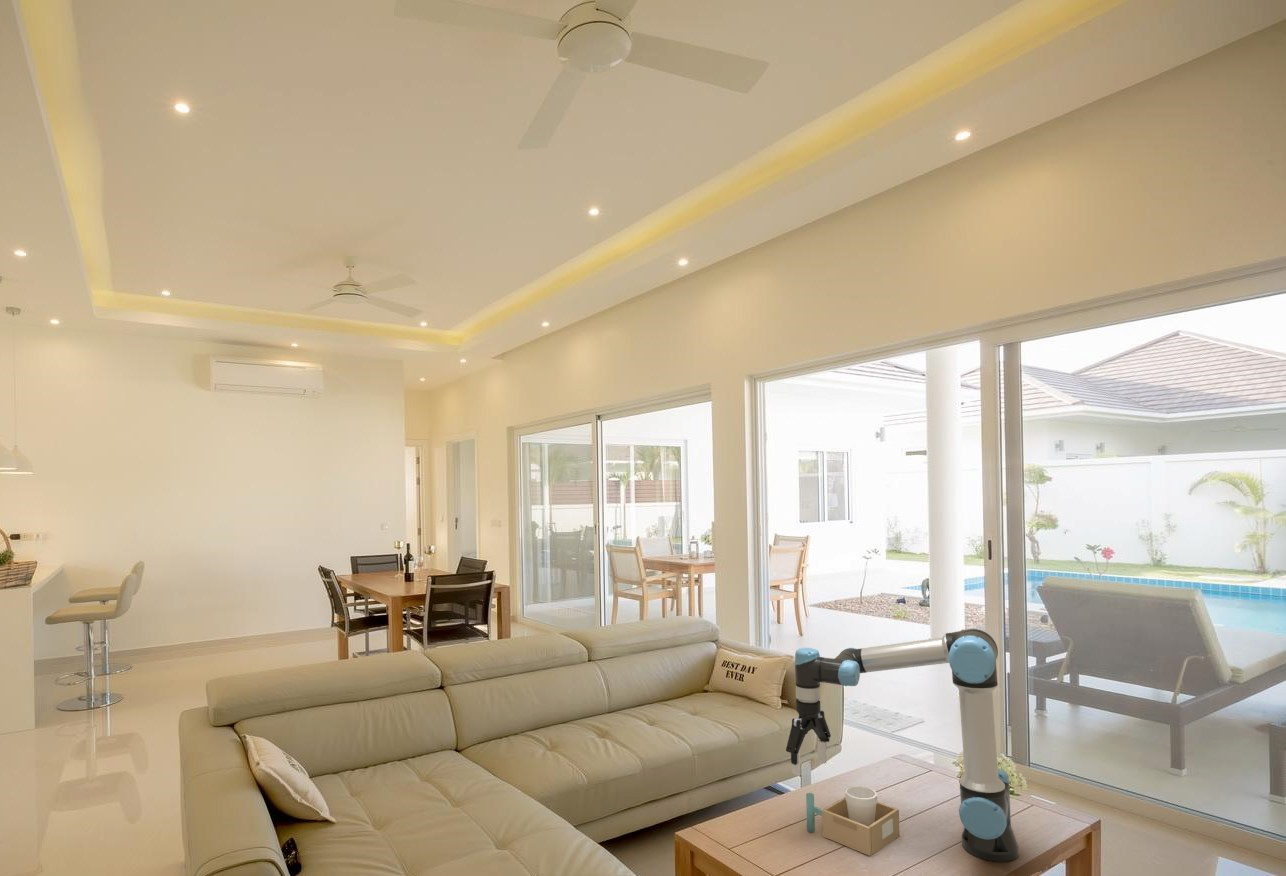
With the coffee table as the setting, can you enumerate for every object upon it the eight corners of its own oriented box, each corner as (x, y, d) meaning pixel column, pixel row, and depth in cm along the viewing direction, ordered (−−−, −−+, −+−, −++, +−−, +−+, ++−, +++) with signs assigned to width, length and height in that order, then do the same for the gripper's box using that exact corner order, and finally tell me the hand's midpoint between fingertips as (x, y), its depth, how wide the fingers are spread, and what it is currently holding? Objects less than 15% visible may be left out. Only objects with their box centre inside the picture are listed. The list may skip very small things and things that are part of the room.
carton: (899, 836, 222) (899, 809, 222) (872, 855, 211) (871, 827, 211) (853, 818, 234) (852, 792, 234) (824, 835, 223) (824, 808, 223)
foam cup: (843, 839, 220) (841, 795, 221) (849, 825, 229) (848, 783, 229) (875, 846, 216) (874, 801, 217) (880, 832, 224) (879, 789, 225)
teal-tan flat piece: (872, 853, 211) (871, 815, 212) (868, 856, 210) (867, 818, 210) (809, 827, 227) (809, 792, 228) (805, 830, 226) (804, 794, 226)
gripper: (821, 688, 239) (822, 754, 238) (773, 705, 223) (774, 775, 222) (840, 693, 234) (842, 760, 233) (793, 710, 217) (795, 783, 216)
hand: (809, 768), depth 227 cm, fingers open, 13 cm apart
